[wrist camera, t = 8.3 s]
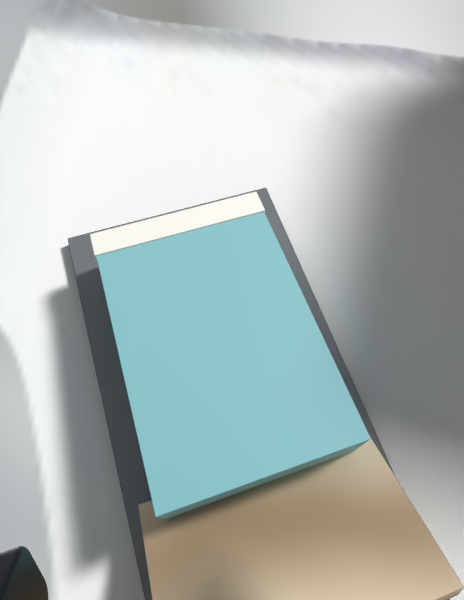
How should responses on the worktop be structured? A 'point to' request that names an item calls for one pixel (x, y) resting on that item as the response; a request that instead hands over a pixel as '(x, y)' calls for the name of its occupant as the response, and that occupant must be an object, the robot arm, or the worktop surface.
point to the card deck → (220, 355)
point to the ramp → (302, 540)
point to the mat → (114, 382)
